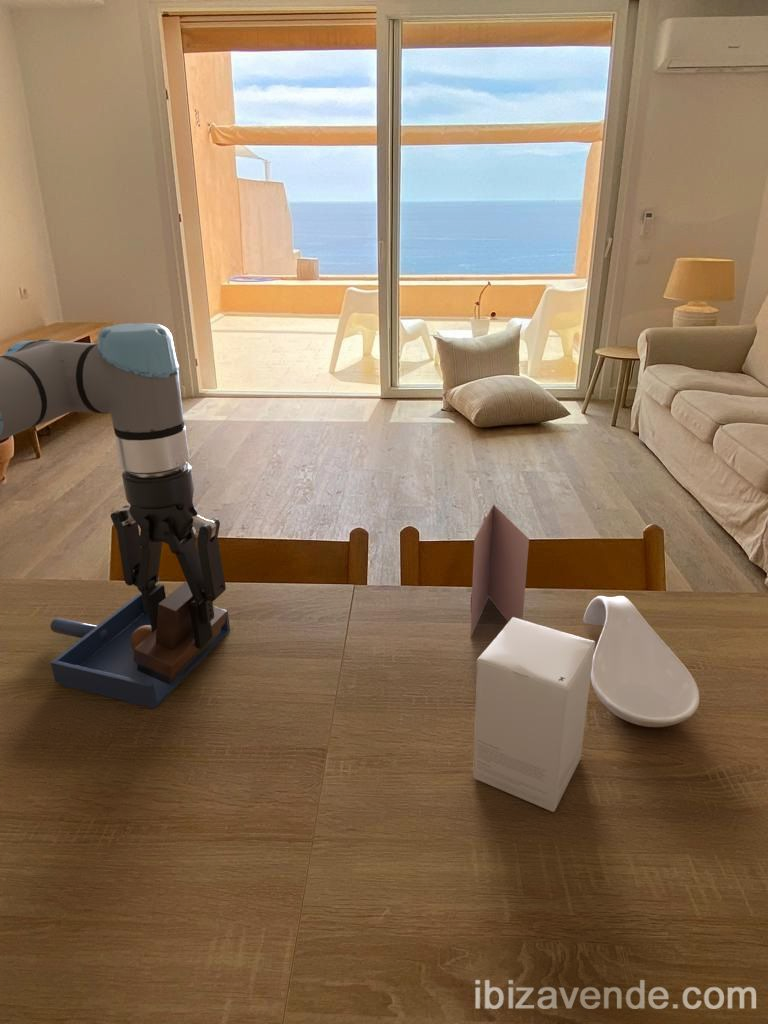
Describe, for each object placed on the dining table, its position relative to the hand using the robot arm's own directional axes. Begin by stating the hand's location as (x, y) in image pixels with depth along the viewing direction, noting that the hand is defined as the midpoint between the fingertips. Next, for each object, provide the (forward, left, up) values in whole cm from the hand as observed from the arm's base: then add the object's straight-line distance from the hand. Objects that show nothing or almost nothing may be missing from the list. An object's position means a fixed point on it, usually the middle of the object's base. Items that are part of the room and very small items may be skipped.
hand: (182, 637), depth 88 cm
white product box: (+44, -4, -4) cm, 45 cm away
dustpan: (-10, 0, -4) cm, 11 cm away
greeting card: (+36, +23, -4) cm, 43 cm away
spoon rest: (+53, +15, -4) cm, 56 cm away
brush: (-1, 0, -2) cm, 2 cm away
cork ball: (-6, 0, -2) cm, 6 cm away
